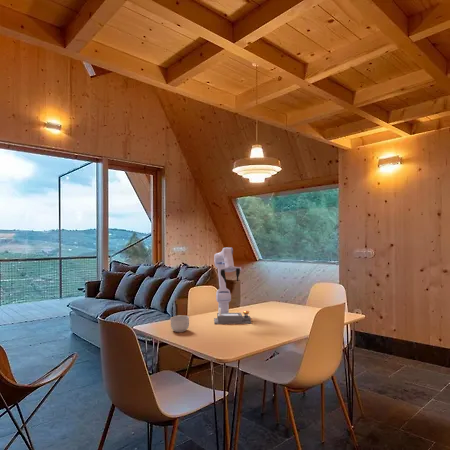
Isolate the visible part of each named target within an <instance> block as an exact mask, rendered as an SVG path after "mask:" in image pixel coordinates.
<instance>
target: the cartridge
mask: <svg viewBox="0 0 450 450" xmlns="http://www.w3.org/2000/svg"><path fill="white" fill-rule="evenodd" d="M236 315H238V314H221V308H219V314H218V316H236Z"/></svg>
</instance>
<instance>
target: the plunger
mask: <svg viewBox="0 0 450 450" xmlns="http://www.w3.org/2000/svg"><path fill="white" fill-rule="evenodd" d="M249 314H250V311H249V310H243V311H242V315H243V316H245V317H248V316H249Z"/></svg>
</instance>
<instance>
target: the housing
mask: <svg viewBox="0 0 450 450" xmlns="http://www.w3.org/2000/svg"><path fill="white" fill-rule="evenodd" d="M216 314H217V317H215V318H213V321H214V325H241V324H242V325H244V324H245V325H248V324H249V325H252V321H251V319H252V317H251V316H250V315H248V317H245V316H244V315H243V313H242V312H229V313H221V314H238V315H236V316H218V314H219V313H218V312H217V313H216Z"/></svg>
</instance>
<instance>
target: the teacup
mask: <svg viewBox="0 0 450 450" xmlns="http://www.w3.org/2000/svg"><path fill="white" fill-rule="evenodd" d="M169 321H170V327H171V330H172V331H174V332H175V333H183V332H185V331H187V330H188V328H189V326H190V316H188V315H180V314H178V315H174V316H172V317H170V320H169Z"/></svg>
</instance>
